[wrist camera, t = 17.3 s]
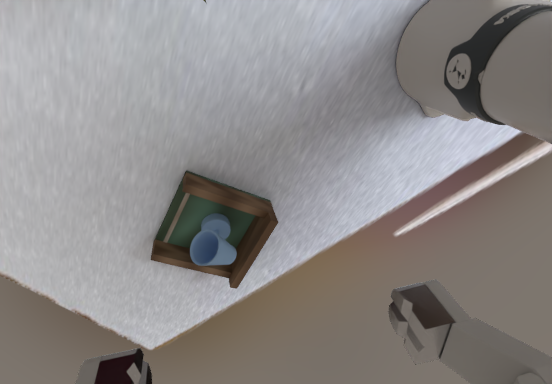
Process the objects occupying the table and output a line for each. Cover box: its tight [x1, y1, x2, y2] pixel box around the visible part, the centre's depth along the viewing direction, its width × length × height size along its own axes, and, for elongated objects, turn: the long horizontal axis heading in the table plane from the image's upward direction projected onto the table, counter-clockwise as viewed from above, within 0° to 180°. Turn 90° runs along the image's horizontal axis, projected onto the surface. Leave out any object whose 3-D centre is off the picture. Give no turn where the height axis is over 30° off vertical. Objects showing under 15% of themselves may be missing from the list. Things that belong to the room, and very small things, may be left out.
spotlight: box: [190, 213, 237, 266], centre depth 48 cm, size 5×10×7 cm
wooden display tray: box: [151, 171, 278, 289], centre depth 50 cm, size 14×14×6 cm
